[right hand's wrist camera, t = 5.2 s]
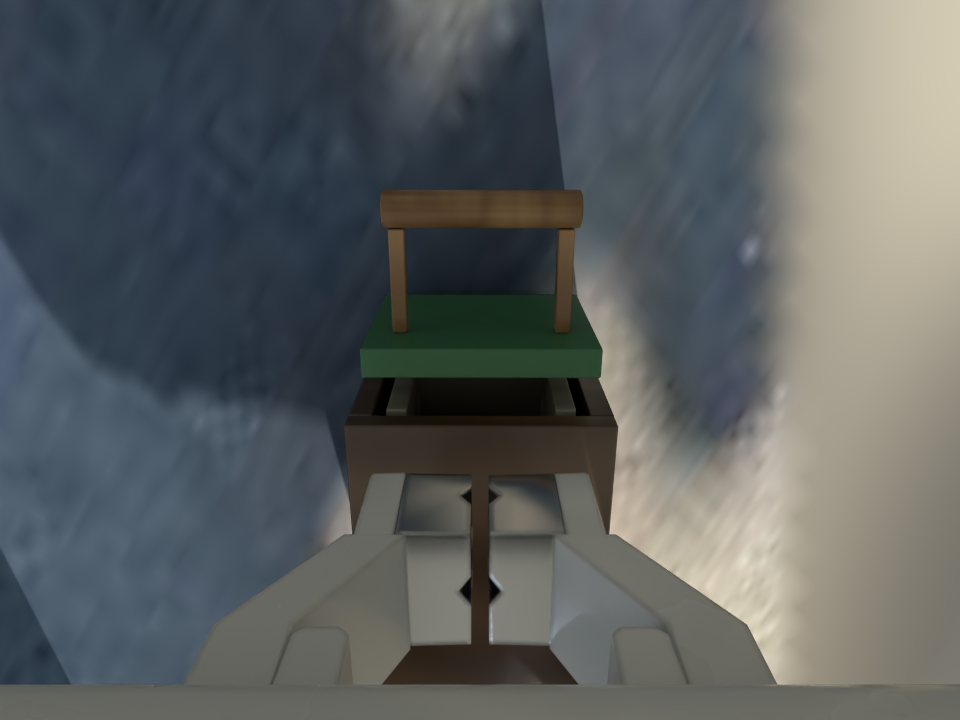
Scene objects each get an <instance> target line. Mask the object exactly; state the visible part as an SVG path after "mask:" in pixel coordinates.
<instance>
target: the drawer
mask: <svg viewBox="0 0 960 720" xmlns="http://www.w3.org/2000/svg"><path fill="white" fill-rule="evenodd" d="M582 218H583V195H582V192H581V190H382V191H381V194H380V219H381V224H382V226H383V227H384V228H389V229H388V247H389V268H390V289H391V295H386V296H385V298H384V300H383V302H382V304H381V306H380V308H379V310H378V312H377V314H376V316H375V318H374V321H373V323H372V325H371V327H370V329H369V331H368V333H367V335H366V337H365V339H364V341H363V344H362V346H361V348H360V363H361V376H362V377H363V378H396V379H395V383H394V386H393V389H392V393H391V396H390V399H389V403H388V406H387V409H386V416H576V409H575V406H574V402H573V399H572V396H571V392H570V389H569V386H568V382H567V379H566V378H600V377H601V366H602V352H603V350H602V348H601V345H600V343H599V341H598V339H597V337H596V335H595V333H594V331H593V329H592V327H591V325H590V323H589V321H588V318H587V316H586V314H585V312H584V310H583V308H582V306H581V304H580V302H579V300H578V298H577V296H576V295H572V279H573V260H574V241H575V230H574V228H580V226H581V224H582ZM405 228H558V233H557V256H556V280H555V295H408V293H407V267H406V241H405Z"/></svg>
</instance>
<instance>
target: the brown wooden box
mask: <svg viewBox="0 0 960 720" xmlns="http://www.w3.org/2000/svg"><path fill="white" fill-rule="evenodd" d="M395 379H396V378H364V379H363V382H362V384H361V387H360V389H359V391H358V394H357V396H356V399H355V401H354V404H353V406H352V408H351V411H350V413H349V416H348V418H347V420H346V423H345V425H344V435H345V447H346V460H347V472H348V485H349V498H350V510H351V523H352V534H354V532H355V528H356V525H357V521H358V518H359V514H360V511H361V508H362V504H363V501H364V497H365V494H366V490H367V487H368V484H369V480H370V477H371V476H372V475H373V474H374V473H405V474H406V475H407V474H408V473H418V474H470V475H472V622H471V644H462V645H426V646H410V650H409V652H408V653H407V654H406V655H405V656H404V658H403V659H402V660H401V661H400V663H399V664H398V665H397V666H396V668H395V669H394V670H393V671H392V672H391V674H390V675H389V676H388V677H387V679H386V680H385V681H384V682H383V684H382V685H579V684H578V683H577V682H576V680H575V679H574V678H573V677H572V675H571V674H570V673H569V672H568V671H567V669H566V668H565V667H564V666H563V664H562V663H561V662H560V661H559V659H558V658H557V657H556V656H555V654H554V653H553V652H552V651H551V650H550V646H533V645H497V644H489V618H488V475H515V474H562V473H587V474H588V475H589V477H590V481H591V484H592V487H593V491H594V494H595V498H596V501H597V504H598V508H599V511H600V514H601V518H602V521H603V525H604V528H605V531H606V534H608V535H609V529H610V518H611V506H612V494H613V482H614V470H615V458H616V447H617V435H618V426H617V423H616V421H615V418H614V415H613V413H612V410H611V408H610V405H609V403H608V401H607V398H606V396H605V394H604V391H603V389H602V386H601V384H600V382H599V379H598V378H566V379H567V382H568V386H569V389H570V392H571V396H572V399H573V402H574V406H575V409H576V416H386V409H387V406H388V403H389V399H390V396H391V393H392V389H393V386H394V383H395Z"/></svg>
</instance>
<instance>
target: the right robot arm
mask: <svg viewBox="0 0 960 720" xmlns="http://www.w3.org/2000/svg"><path fill="white" fill-rule="evenodd" d="M488 618H489V644H497V645H533V646H550V650H551V651H552V652H553V653H554V654H555V656H556V657H557V658H558V659H559V661H560V662H561V663H562V664H563V666H564V667H565V668H566V669H567V671H568V672H569V673H570V674H571V675H572V677H573V678H574V679H575V680H576V682H577V683H578V684H579V685H382V684H383V682H384V681H385V680H386V679H387V677H388V676H389V675H390V674H391V672H392V671H393V670H394V669H395V668H396V666H397V665H398V664H399V663H400V661H401V660H402V659H403V658H404V656H405V655H406V654H407V653H408V652H409V650H410V646H426V645H462V644H471V622H472V475H470V474H418V473H408V474H407V475H406V474H405V473H374V474H373V475H372V476H371V477H370V480H369V484H368V487H367V490H366V494H365V497H364V501H363V504H362V508H361V511H360V514H359V518H358V521H357V525H356V528H355V532H354V534H352V535H343V536H341V537H340V538H338V539H337V540H336V541H334V542H333V543H331V544H330V545H328V546H327V547H325V548H324V549H322V550H321V551H319V552H318V553H317V554H315V555H314V556H312V557H311V558H309V559H308V560H306V561H305V562H303V563H302V564H301V565H299V566H298V567H296V568H295V569H293V570H292V571H290V572H289V573H287V574H286V575H284V576H283V577H282V578H280V579H279V580H277V581H276V582H274V583H273V584H271V585H270V586H268V587H267V588H265V589H264V590H263V591H261V592H260V593H258V594H257V595H255V596H254V597H252V598H251V599H249V600H248V601H246V602H245V603H244V604H242V605H241V606H239V607H238V608H236V609H235V610H233V611H232V612H230V613H229V614H227V615H226V616H225V617H223V618H222V619H220V620H219V621H217V622H216V623H214V625H213V627H212V629H211V631H210V632H209V634H208V636H207V638H206V640H205V642H204V644H203V646H202V648H201V650H200V652H199V654H198V656H197V658H196V660H195V662H194V664H193V666H192V668H191V670H190V672H189V674H188V676H187V677H186V679H185V681H184V683H183V685H0V720H960V685H777V683H776V681H775V679H774V677H773V675H772V673H771V671H770V669H769V667H768V665H767V663H766V661H765V659H764V657H763V655H762V653H761V651H760V649H759V647H758V645H757V643H756V641H755V639H754V637H753V636H752V634H751V632H750V630H749V628H748V626H747V624H745V623H744V622H742V621H741V620H739V619H738V618H737V617H735V616H734V615H732V614H731V613H729V612H728V611H726V610H725V609H723V608H722V607H721V606H719V605H718V604H716V603H715V602H713V601H712V600H710V599H709V598H707V597H706V596H705V595H703V594H702V593H700V592H699V591H697V590H696V589H694V588H693V587H691V586H690V585H689V584H687V583H686V582H684V581H683V580H681V579H680V578H678V577H677V576H675V575H674V574H673V573H671V572H670V571H668V570H667V569H665V568H664V567H662V566H661V565H659V564H658V563H657V562H655V561H654V560H652V559H651V558H649V557H648V556H646V555H645V554H643V553H642V552H641V551H639V550H638V549H636V548H635V547H633V546H632V545H630V544H629V543H627V542H626V541H625V540H623V539H622V538H620V537H619V536H617V535H608V534H606V531H605V528H604V525H603V521H602V518H601V514H600V511H599V508H598V504H597V501H596V498H595V494H594V491H593V487H592V484H591V481H590V477H589V475H588V474H587V473H562V474H515V475H488Z"/></svg>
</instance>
